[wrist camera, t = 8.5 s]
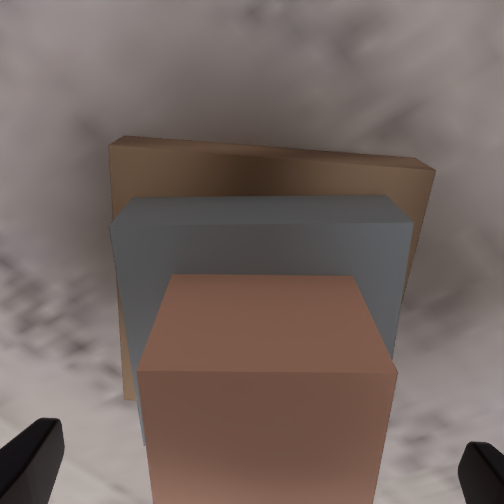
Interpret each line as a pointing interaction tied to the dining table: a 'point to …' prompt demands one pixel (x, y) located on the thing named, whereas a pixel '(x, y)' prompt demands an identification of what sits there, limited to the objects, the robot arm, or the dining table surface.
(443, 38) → the dining table surface
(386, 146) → the dining table surface
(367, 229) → the slate top block
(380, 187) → the walnut base block
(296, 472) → the terracotta block
